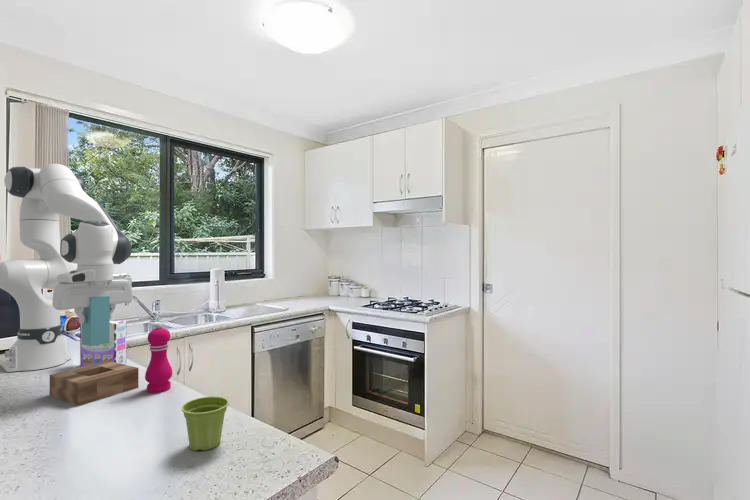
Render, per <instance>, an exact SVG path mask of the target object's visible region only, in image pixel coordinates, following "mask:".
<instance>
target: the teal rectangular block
mask: <svg viewBox="0 0 750 500" xmlns="http://www.w3.org/2000/svg"><path fill="white" fill-rule="evenodd" d="M82 314H83V315H84V316H85V317H88V322H87V323H83V324H82V345H87V346H95V345H100V344H105V343H109V321H110V320H109V315H110V296H102V297H91V298H90V305H89V307H85V308H84V311H83V312H82Z"/></svg>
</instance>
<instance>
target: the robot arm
mask: <svg viewBox="0 0 750 500" xmlns="http://www.w3.org/2000/svg"><path fill="white" fill-rule="evenodd" d="M4 186H5V189H6V192H8V193H9V194H10V195H11V196H14V197H17V198H21V203H20V206H19V207H20V208H19V209H20V210H19V241H20V243H21V244H22V245H24V246H25V247H27V248H28V249H31V250H33V251H36V252H37V253H38V255H39V258H19V259H12V260H7V261H6V260H5V261H1V262H0V289H1V290H3V291H5V292H6V293H8V294H10V296H12V298H13V299H14V300H15V301H16V304H17V306H18V310H19V323H20V327H19V328H18V332H17V337H16V338H17V339H16V341H15V342H14V343H13V344H12V345H11V346H10V348H9V350H6V351H4V357H5V358H8V360H7V359H6V360H2V361H1V362H0V367H1V368H2V369H3V370H4V371H5V372H6V373H12V372H23V371H25V372H26V371H36V370H44V369H48V368H53V367H56V366H60V365H62V364H65V363H66V362H67V361H69V360H71V359H72V357H71V356H70V355H68V354H67V353H68V352H67V351H68V350H67V339H66V338H64V337H63V336H62V333H63V331H62V330H63V327H62V324H61V311H64V310H65V311H66V310H73V309H74V310H73V311H74V313H75V315H76V316H77V317H78V322H79V324H80V323H81V324H83V323H87V322H88V317H85V316H84V315H83V314H82V312H83V311H84V308H85V307H89V305H90V298H91V297H102V296H110V315H109V321H111V320H112V315H113V313H114V311H115V309H116V306H117V305H120V304H121V305H122V304H129V303H130V304H131V302H132V301H133V299H134V294H133V292H134V291H133V286H132V284H133V279H132V276H130V275H129V274H128V273H114V272H115V271H114V265H121V264H123V263H124V262H125V261H126V260H128V259H129V258H130V257H131V256H132V252H133V251H132V249H133V248H132V243H131V241H130V239H129V238H128V237H127V235H125V234H124V233H123V232H122V231H121V230H120V229H119V227H118V226H117V225H116V223H115V221H114V220H113V219H112V217H111V216H110V214H109V213H108V211H107V210H106V209H105V207H104V206H103V205H102V204H101V203H99V202H98V201H96V200H94V199H93V198H92V197H90V195H88V194H87V192H85V190H86V185H85V181H84V179H83V178H82V176H80V175H79V174H77V173H73V171H72V170H71V169H70V168H69V167H68V166H66V165H63V164H60V163H49V164H46V165H44V166H42V167H41V168H39V167H38V168H35V167H26V166H13V167H10V168H8V170H7V171H6V173H5V176H4ZM59 216H62V217H67V218H71V219H76V220H81V221H80V223H79V224H78V229H77V230H75V231H73V232H72V233H70V232H69V233H68V234H66V235H65V236H64V237H62V238H61V234H60V232H61V231H60V217H59ZM43 289H53V293H52V299H51V298H49V297H45V296H44V295H43V293H42V292H43V291H42V290H43Z"/></svg>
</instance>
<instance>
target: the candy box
mask: <svg viewBox="0 0 750 500" xmlns="http://www.w3.org/2000/svg"><path fill="white" fill-rule="evenodd" d="M79 336H80V338H79V340H80V342H79V345H80V347H79V349H80V351H79V352H80V353H79V355H80V357H79V358H80V361H79V362H80V363H79V364H80V365H79V366H80V367H79V368H81V367H86V366H90V365H94V364H99V363H103V362H107V361H111V362H115V363H120V364H124V365H127V320H109V343H105V344H100V345H95V346H87V345H82V324H81V323H79Z"/></svg>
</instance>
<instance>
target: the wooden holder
mask: <svg viewBox="0 0 750 500" xmlns="http://www.w3.org/2000/svg"><path fill="white" fill-rule="evenodd" d="M138 388H139V367H136V366H131V365H127V364H126V365H124V364H120V363H115V362H111V361H107V362H103V363H99V364H94V365H90V366H86V367H81V368H80V367H77V368H74V369H68V370H65V371H61V372H60V371H59V372H56V373H51V374H49V389H48V391H49V393H48V394H49V396H50V397H52V398H56V399H58V400H61V401H64V402H66V403H70V404H72V405H75V406H78V407H79V406H83V405H86V404H89V403H90V404H91V403H93V402H96V401H100V400H102V399H106V398H110V397H113V396H117V395H119V394H122V393H125V392H129V391H132V390H134V389H138Z"/></svg>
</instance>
